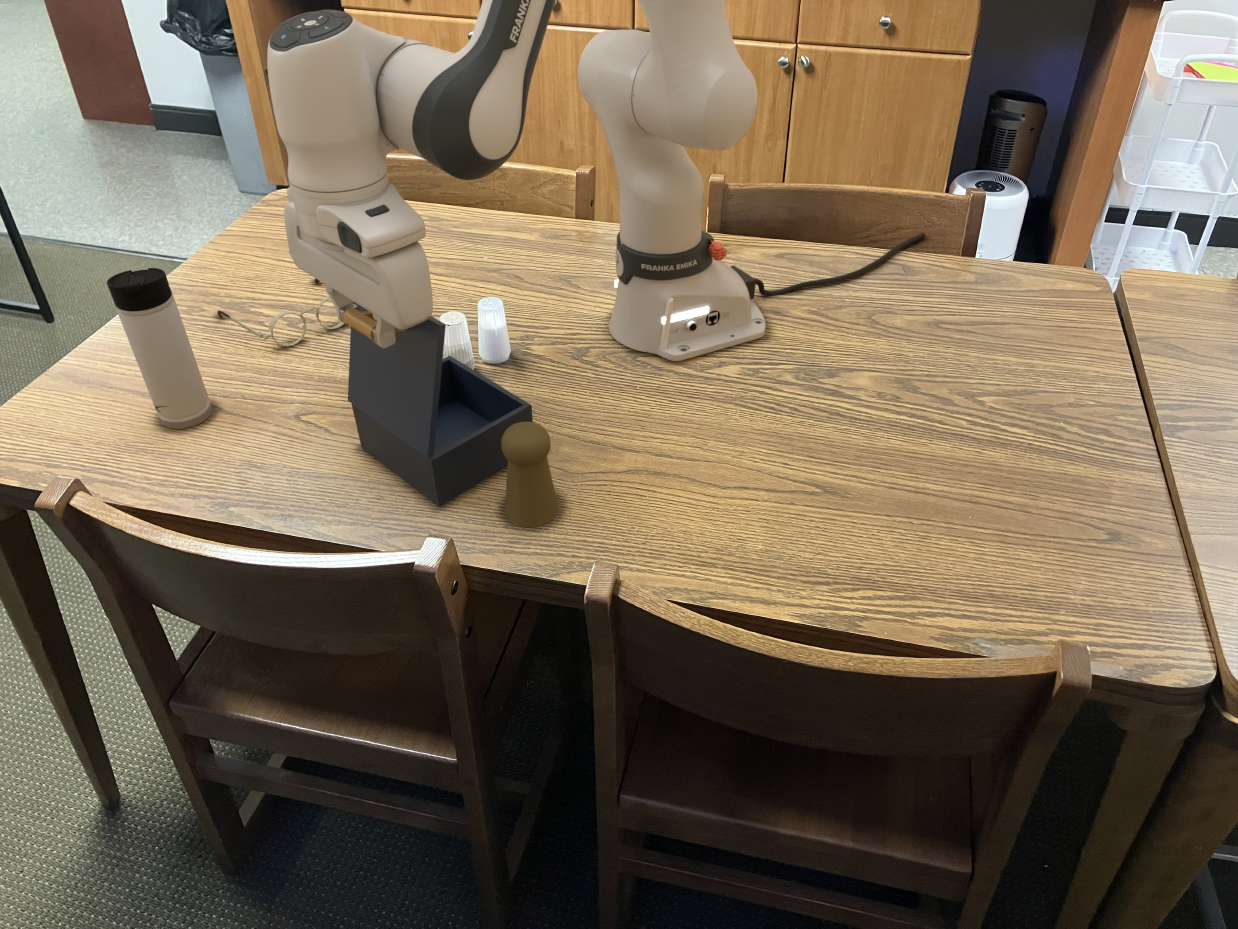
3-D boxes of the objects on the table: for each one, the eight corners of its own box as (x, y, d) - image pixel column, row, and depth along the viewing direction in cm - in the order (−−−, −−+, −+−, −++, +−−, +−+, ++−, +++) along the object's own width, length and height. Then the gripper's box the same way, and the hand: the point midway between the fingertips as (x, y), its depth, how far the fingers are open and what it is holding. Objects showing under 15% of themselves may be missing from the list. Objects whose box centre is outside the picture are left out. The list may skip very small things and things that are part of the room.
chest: (455, 399, 121) (449, 355, 116) (535, 450, 112) (531, 404, 108) (361, 448, 113) (351, 403, 108) (439, 507, 104) (431, 460, 100)
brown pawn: (530, 484, 107) (523, 406, 100) (569, 506, 104) (565, 427, 97) (493, 511, 104) (483, 433, 97) (532, 535, 101) (526, 455, 94)
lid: (359, 273, 101) (315, 278, 98) (446, 324, 93) (402, 331, 89) (353, 399, 108) (313, 408, 105) (433, 456, 100) (393, 468, 96)
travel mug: (157, 435, 115) (99, 290, 102) (163, 405, 120) (108, 263, 107) (211, 426, 116) (160, 282, 103) (214, 397, 121) (166, 256, 108)
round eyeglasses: (259, 358, 128) (250, 327, 125) (214, 317, 137) (204, 286, 134) (368, 316, 137) (362, 286, 134) (319, 280, 146) (312, 250, 143)
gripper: (256, 183, 91) (287, 308, 100) (377, 248, 80) (399, 382, 89) (313, 166, 95) (338, 288, 103) (436, 226, 84) (452, 357, 92)
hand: (367, 332), depth 96 cm, fingers closed on lid, 5 cm apart
